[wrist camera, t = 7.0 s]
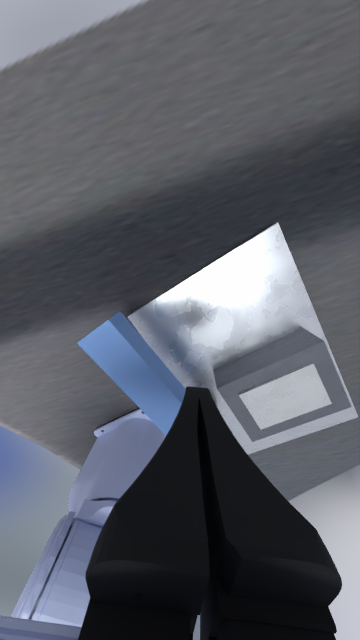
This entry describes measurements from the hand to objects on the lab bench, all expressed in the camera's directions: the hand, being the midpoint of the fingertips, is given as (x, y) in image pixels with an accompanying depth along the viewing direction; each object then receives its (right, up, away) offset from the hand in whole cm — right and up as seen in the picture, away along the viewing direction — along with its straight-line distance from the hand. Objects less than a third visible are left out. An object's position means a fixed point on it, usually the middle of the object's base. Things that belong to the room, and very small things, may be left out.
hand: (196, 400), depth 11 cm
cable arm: (-2, -2, +5) cm, 5 cm away
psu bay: (+7, 0, +10) cm, 12 cm away
